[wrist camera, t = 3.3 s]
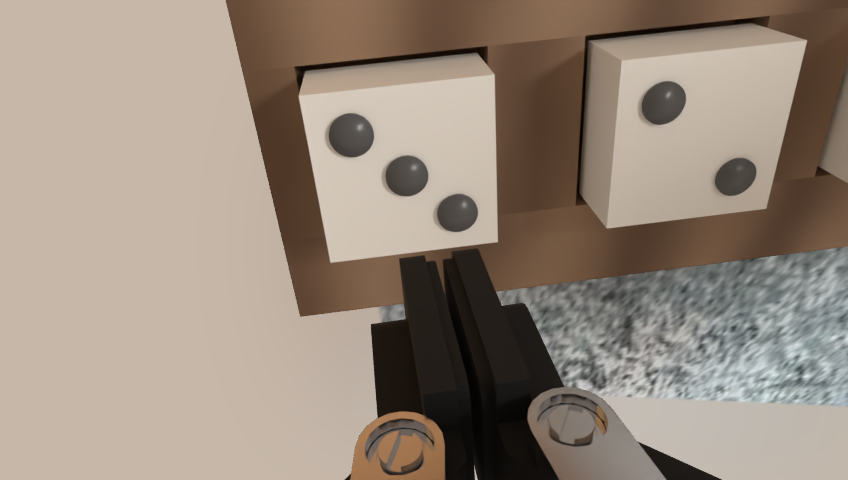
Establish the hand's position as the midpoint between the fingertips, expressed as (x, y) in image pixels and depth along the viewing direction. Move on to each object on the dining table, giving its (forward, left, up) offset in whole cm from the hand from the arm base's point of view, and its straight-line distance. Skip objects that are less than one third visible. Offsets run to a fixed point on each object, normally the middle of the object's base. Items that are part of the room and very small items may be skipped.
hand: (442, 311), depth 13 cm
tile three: (0, 0, -11) cm, 11 cm away
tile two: (-10, 0, -11) cm, 15 cm away
